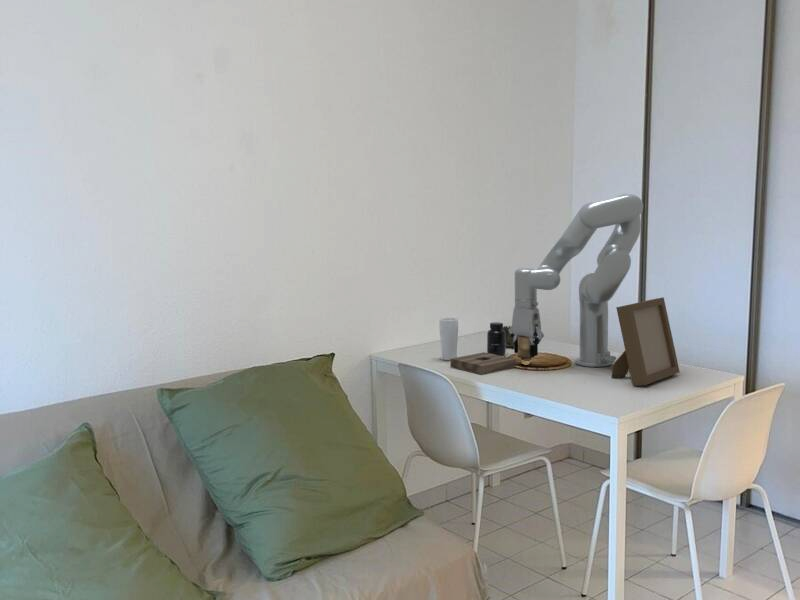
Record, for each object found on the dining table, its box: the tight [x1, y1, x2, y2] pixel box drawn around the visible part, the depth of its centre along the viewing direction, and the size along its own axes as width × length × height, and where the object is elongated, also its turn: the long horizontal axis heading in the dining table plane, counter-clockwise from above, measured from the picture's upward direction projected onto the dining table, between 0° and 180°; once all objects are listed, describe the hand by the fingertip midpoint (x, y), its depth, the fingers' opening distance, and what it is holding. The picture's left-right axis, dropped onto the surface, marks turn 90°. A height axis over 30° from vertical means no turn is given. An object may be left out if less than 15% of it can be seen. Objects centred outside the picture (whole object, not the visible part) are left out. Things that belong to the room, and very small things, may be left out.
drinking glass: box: [439, 317, 459, 361], centre depth 277 cm, size 7×7×15 cm
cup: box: [502, 325, 514, 349], centre depth 298 cm, size 8×7×8 cm
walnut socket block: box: [449, 351, 517, 376], centre depth 264 cm, size 16×16×3 cm
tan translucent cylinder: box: [517, 336, 535, 361], centre depth 266 cm, size 6×6×10 cm
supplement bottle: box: [486, 321, 507, 357], centre depth 283 cm, size 7×7×12 cm
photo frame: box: [611, 297, 681, 387], centre depth 241 cm, size 15×22×25 cm
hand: (525, 353), depth 266 cm, fingers open, 6 cm apart
